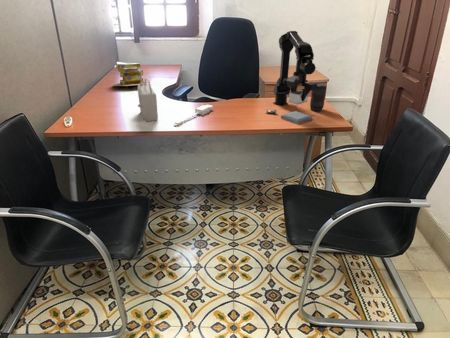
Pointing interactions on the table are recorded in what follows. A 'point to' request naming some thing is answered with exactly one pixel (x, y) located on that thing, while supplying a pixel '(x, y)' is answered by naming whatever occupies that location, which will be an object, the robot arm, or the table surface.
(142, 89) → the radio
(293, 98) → the box
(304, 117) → the stand
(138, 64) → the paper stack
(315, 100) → the camera lens
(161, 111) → the table surface
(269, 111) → the loose bolt
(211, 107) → the white brush
